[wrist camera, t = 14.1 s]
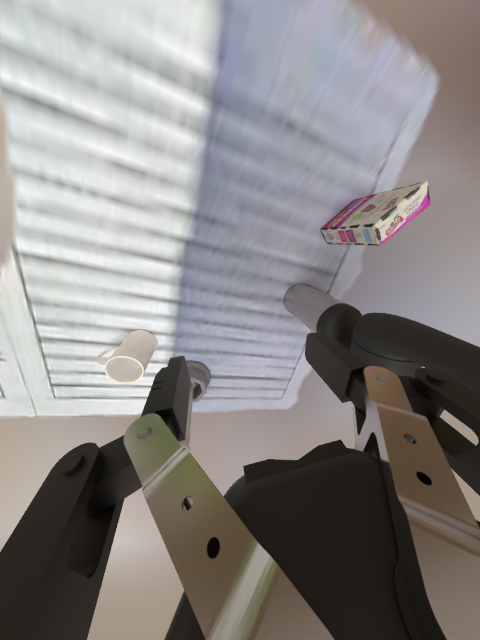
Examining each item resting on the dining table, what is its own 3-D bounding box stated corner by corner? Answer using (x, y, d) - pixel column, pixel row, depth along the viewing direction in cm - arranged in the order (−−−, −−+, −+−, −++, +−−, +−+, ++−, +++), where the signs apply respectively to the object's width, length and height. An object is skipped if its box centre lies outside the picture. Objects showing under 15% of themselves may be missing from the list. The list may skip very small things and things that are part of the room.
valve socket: (206, 357, 56) (207, 378, 48) (213, 387, 62) (214, 411, 54) (153, 367, 54) (143, 391, 45) (165, 397, 60) (159, 423, 52)
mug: (112, 351, 49) (87, 382, 39) (111, 326, 46) (83, 351, 36) (156, 355, 53) (144, 385, 42) (158, 331, 49) (145, 357, 39)
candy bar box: (326, 245, 48) (380, 247, 33) (319, 229, 46) (373, 224, 31) (360, 216, 46) (433, 205, 32) (354, 198, 44) (429, 178, 29)
